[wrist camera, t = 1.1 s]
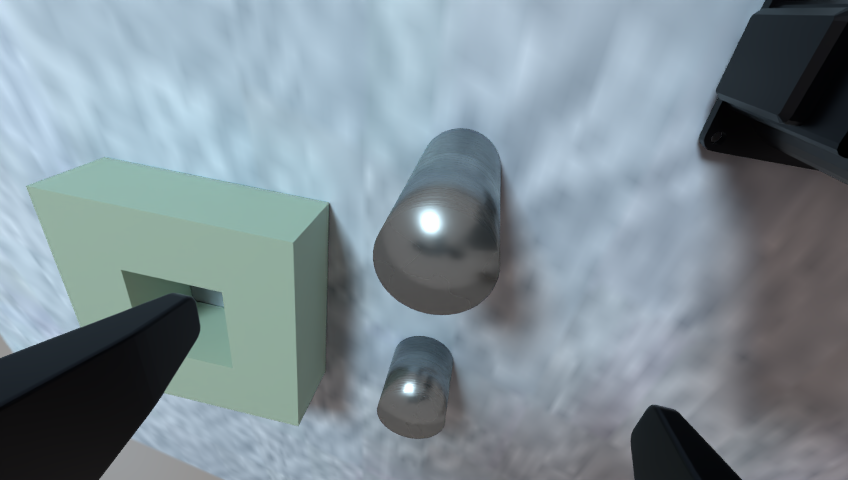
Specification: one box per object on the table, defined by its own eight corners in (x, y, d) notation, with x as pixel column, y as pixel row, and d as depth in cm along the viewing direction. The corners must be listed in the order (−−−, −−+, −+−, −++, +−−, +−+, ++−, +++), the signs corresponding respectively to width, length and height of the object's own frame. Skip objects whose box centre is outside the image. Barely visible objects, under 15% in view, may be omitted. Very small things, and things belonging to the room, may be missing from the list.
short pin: (457, 343, 23) (450, 401, 20) (447, 385, 25) (438, 445, 21) (397, 330, 23) (380, 385, 20) (392, 372, 25) (374, 429, 22)
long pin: (509, 136, 17) (514, 221, 10) (490, 210, 19) (484, 326, 12) (427, 121, 17) (378, 194, 10) (416, 196, 19) (368, 300, 12)
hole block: (329, 202, 20) (293, 242, 17) (325, 371, 26) (298, 426, 23) (104, 157, 21) (26, 186, 17) (151, 330, 27) (99, 377, 24)
